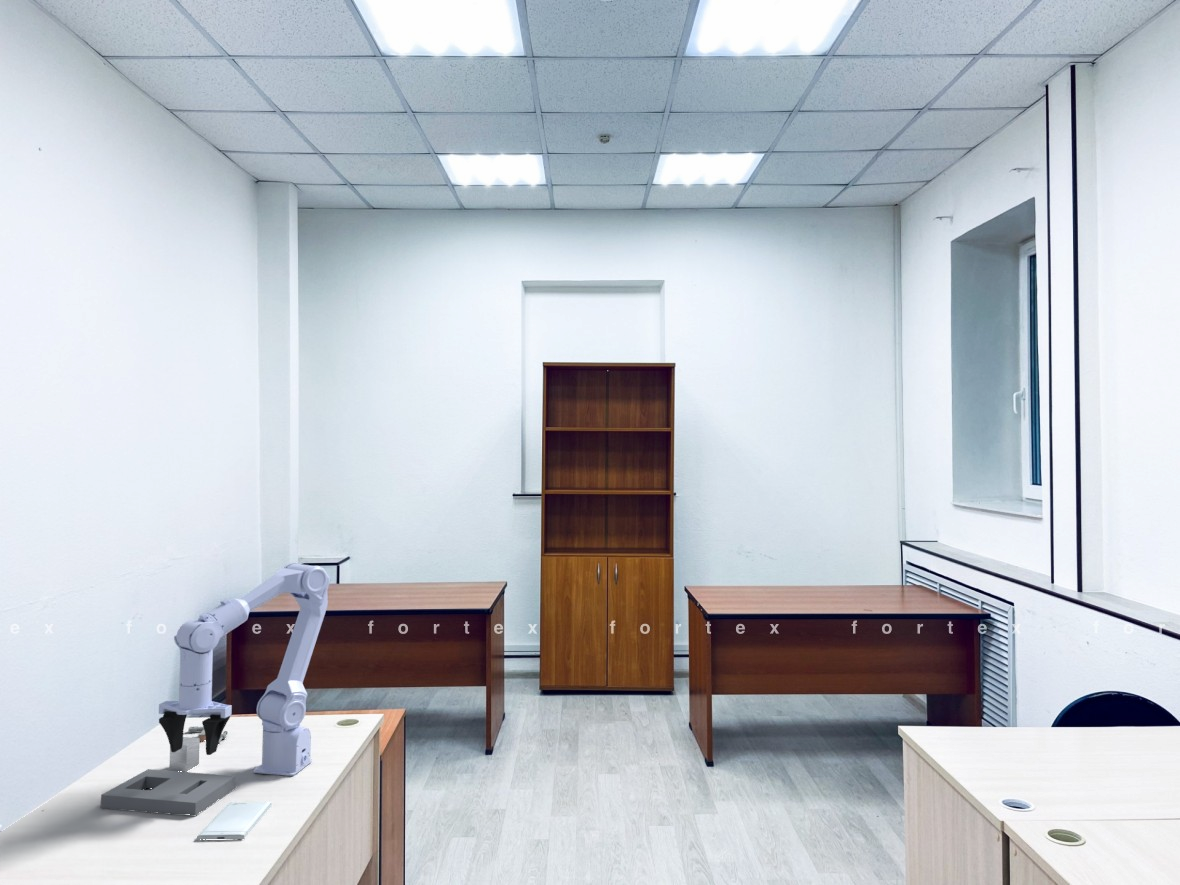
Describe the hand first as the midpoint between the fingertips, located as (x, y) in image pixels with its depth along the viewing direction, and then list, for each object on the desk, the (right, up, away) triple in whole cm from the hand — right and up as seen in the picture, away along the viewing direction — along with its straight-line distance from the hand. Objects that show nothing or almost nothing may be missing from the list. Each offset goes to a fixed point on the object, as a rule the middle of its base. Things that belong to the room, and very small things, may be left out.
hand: (193, 751), depth 143 cm
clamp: (-15, -11, +33) cm, 38 cm away
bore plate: (-5, -9, 0) cm, 11 cm away
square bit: (-10, -10, +14) cm, 20 cm away
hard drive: (+13, -10, -9) cm, 19 cm away
